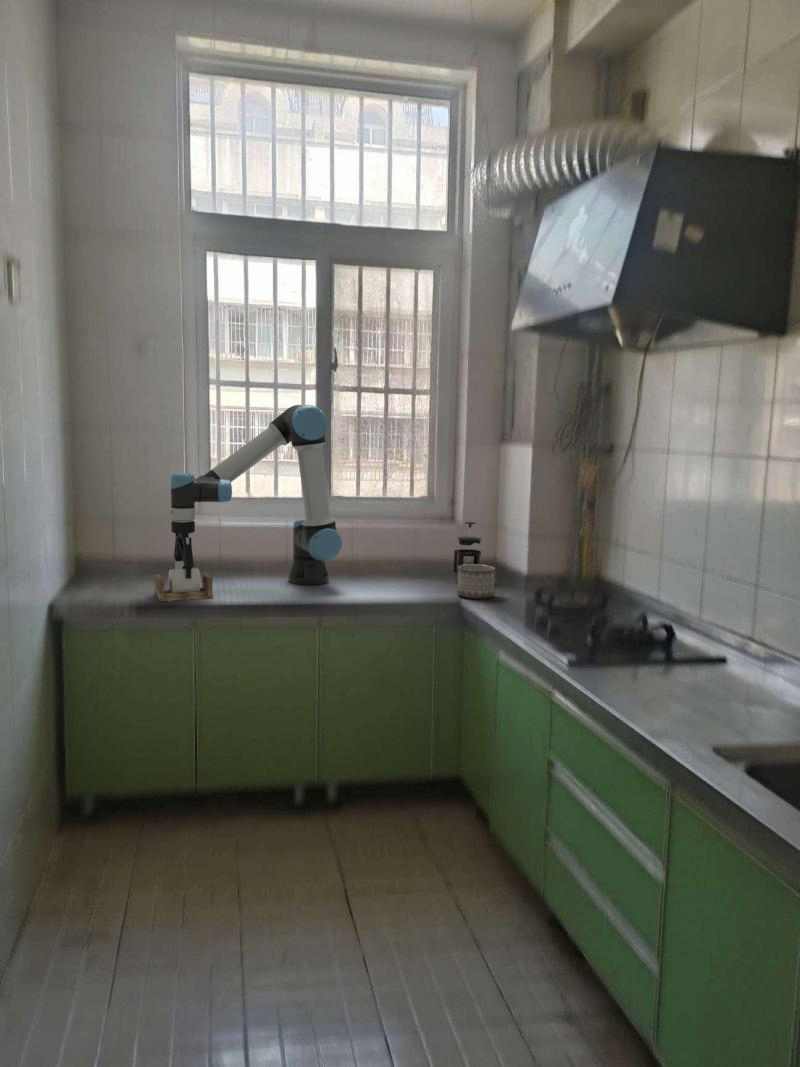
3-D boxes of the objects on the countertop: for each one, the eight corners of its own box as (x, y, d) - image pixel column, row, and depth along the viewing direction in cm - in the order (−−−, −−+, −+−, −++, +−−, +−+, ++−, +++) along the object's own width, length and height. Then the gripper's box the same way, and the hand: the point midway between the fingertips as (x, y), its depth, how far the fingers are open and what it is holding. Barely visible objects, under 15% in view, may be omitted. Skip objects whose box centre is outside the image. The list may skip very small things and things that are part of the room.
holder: (205, 591, 282) (205, 571, 281) (213, 598, 272) (213, 577, 271) (154, 595, 275) (154, 574, 274) (160, 602, 265) (160, 580, 264)
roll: (195, 589, 279) (195, 566, 278) (201, 594, 272) (200, 570, 271) (168, 591, 275) (168, 567, 274) (173, 595, 268) (172, 571, 267)
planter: (454, 592, 292) (455, 564, 291) (488, 592, 294) (490, 564, 292) (461, 600, 280) (462, 570, 278) (497, 600, 281) (498, 570, 280)
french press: (486, 583, 311) (489, 522, 308) (471, 586, 304) (473, 524, 301) (462, 578, 319) (464, 519, 316) (446, 581, 312) (449, 521, 309)
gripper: (164, 516, 279) (165, 577, 282) (178, 525, 257) (179, 592, 260) (186, 515, 283) (187, 576, 286) (203, 525, 261) (203, 590, 264)
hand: (183, 584), depth 273 cm, fingers open, 13 cm apart
